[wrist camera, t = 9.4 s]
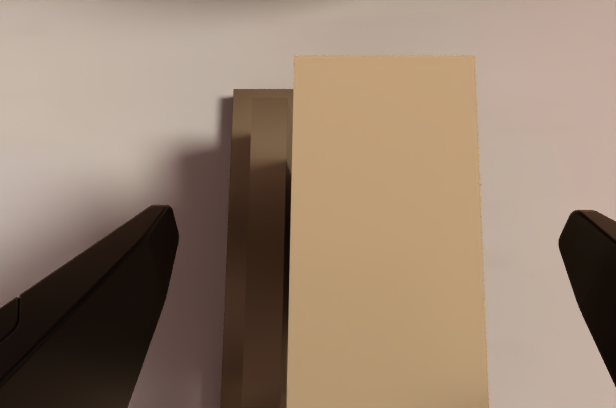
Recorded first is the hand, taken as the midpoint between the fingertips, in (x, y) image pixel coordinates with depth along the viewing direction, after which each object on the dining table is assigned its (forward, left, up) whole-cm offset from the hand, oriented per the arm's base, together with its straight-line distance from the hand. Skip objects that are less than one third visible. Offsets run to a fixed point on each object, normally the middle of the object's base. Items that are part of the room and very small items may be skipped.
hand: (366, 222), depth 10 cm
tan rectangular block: (-1, 0, -8) cm, 8 cm away
